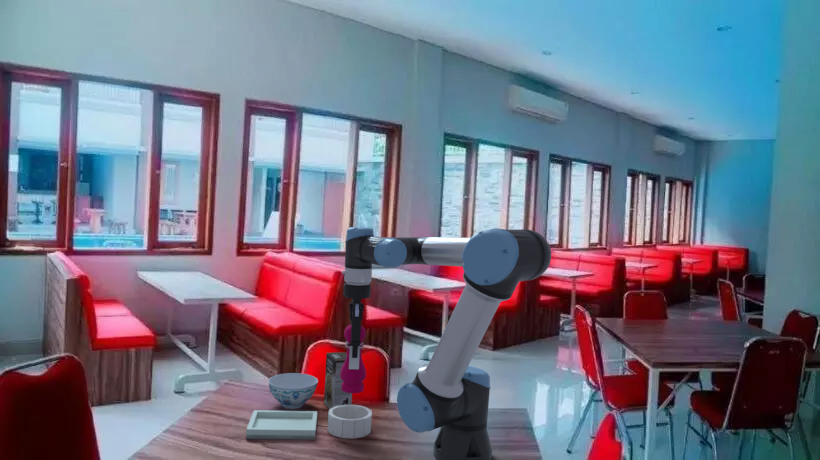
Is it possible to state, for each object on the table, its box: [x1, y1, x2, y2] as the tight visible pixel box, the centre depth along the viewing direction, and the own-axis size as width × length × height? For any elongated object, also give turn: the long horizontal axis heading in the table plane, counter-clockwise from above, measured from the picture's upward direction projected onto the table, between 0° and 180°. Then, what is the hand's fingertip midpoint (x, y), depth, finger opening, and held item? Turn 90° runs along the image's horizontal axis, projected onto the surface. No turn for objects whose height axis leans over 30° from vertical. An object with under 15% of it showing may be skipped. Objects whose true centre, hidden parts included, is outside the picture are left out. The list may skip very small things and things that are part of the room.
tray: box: [245, 409, 318, 440], centre depth 167 cm, size 18×14×2 cm
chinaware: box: [267, 372, 319, 410], centre depth 186 cm, size 15×15×8 cm
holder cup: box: [327, 404, 373, 439], centre depth 169 cm, size 12×12×5 cm
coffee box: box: [323, 351, 353, 410], centre depth 186 cm, size 9×6×16 cm
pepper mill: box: [340, 324, 367, 394], centre depth 168 cm, size 7×7×20 cm
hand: (353, 365), depth 168 cm, fingers closed on pepper mill, 6 cm apart
